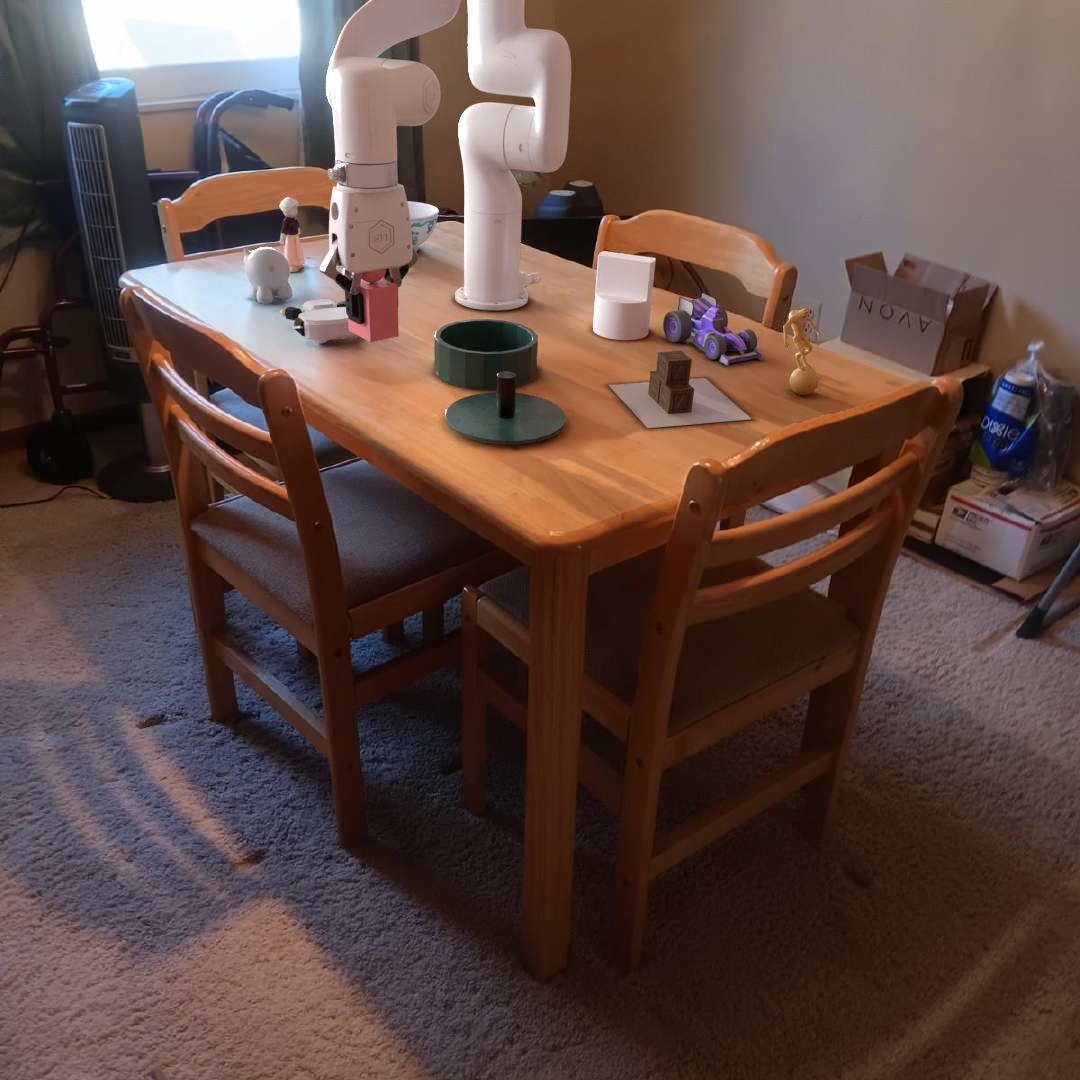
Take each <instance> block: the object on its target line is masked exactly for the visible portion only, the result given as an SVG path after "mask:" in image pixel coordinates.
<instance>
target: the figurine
mask: <svg viewBox="0 0 1080 1080" xmlns="http://www.w3.org/2000/svg"><path fill="white" fill-rule="evenodd" d="M808 323H809V325H810V327H811V328H812V329H813V330H814V331H815V333H816V335H817V339H821V336H820V333H819V330H818V327H817V326H816V325H815V323H814V322H813V320H812V318H811V317H810V316H809V309H808V308H802V309H794V310H791V311H790V312H789V314H788V320H787V322H786V323H784V325H783V326H782V327H783V328H782V331H783V348H784V350H786V351H788V350H790V348H789V347H790V346H791V345H790V344H789V342H788V328H789V327H790V326H791V328H792V331H793V335H794V336H793V337H792V341H793V344H794V346H795V347H796V349H797V350H798V352H796V353H795V362H796V365H797V368H795V369H794V370H793V371H792V372H791V374H790V376H789V387H790V389H791V390H792V391H793V392H794V393H795V394H798V395H800V396H806V395H810V394H812V393H813V392H814V391H815V390H816V389H817V387H818V385H819V376H818V373H817V371H816V370H815V369H813V368H812V366H811V365H810V364H809V363H808V362H807V359H806V357H805V356H807V355H808V354H809V353H811V352H812V351H813V348H814V347H813V345H812V343H811V342H810V339H809V337H808V334H807V332H806V331H805V329H806V327H807V325H808ZM800 358H801V359H800ZM801 362H802V363H801Z"/></svg>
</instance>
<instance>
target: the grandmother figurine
mask: <svg viewBox="0 0 1080 1080" xmlns="http://www.w3.org/2000/svg"><path fill="white" fill-rule="evenodd" d="M279 203H280V204H279V209H280V211H282V213H283V215H284V216H285V218H284V219H283V220H282V226H281V230H280V237H279V238H280V239H279V244H280V245H283V246H284V256H285V258H286V259H287V261H288V264H289V268H290V273H295V272H299V269H302V268H304V265H305V264H306V260H305V255H304V250H303V247H302V242H301V237H300V235H301V234H302V230H301V227H300V223H299V219H298V218H297V217H296V216H297V215H298V206H299V201H298V200H297V199H296V198H294V197H292V196H291V197H290V196H287V197H285V198H283V200H281V201H280V202H279Z"/></svg>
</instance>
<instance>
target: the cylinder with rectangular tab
mask: <svg viewBox="0 0 1080 1080" xmlns="http://www.w3.org/2000/svg"><path fill="white" fill-rule="evenodd" d="M596 266H597V267H596V281H595V294H594V308H593V321H592V322H593V323H592V330H593V332H594V333H595V334H596V335H598V336H599V337H602V338H606V339H610V340H616V341H635V340H640V339H644V338H645V337H647V336H648V334H649V329H650V321H651V309H652V299H653V289H654V279H655V271H656V257H652V256H651V257H650V256H643V255H636V254H630V253H629V254H628V253H621V252H616V251H615V252H614V251H607V250H603V251H601V252H599V254H597V265H596Z"/></svg>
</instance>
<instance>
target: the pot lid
mask: <svg viewBox="0 0 1080 1080" xmlns="http://www.w3.org/2000/svg"><path fill="white" fill-rule="evenodd" d="M516 389H517V387H516V374H515V373H513V372H507V371H505V372H500V373H498V374H497V390H496V391H493V392H492V391H491V392H481V393H476V394H471V395H467V396H464V397H462V398H459V399H457V400H455V401H454V402H452V403H450V404H449V406H448V407H447V408H446V409H445V413H444V420H445V423H446V425H447V426H448V427H449V428H450V429H451V430H452V431H453V432H455V433H456V434H458V435H460V436H462V437H465V438H467V439H471V440H473V441H477V442H482V443H487V444H495V445H524V444H531V443H537V442H540V441H545V440H547V439H551V438H552V437H554V436H556V435H557V434H559V433H561V431H563V429H564V427H566V424H567V416H566V412H565V411H564V410H563V408H562V407H560V406H559V405H558V404H556V403H555V402H553V401H551V400H548V399H546V398H543V397H541V396H538V395H534V394H528V393H524V392H523V393H522V392H517V390H516Z"/></svg>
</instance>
